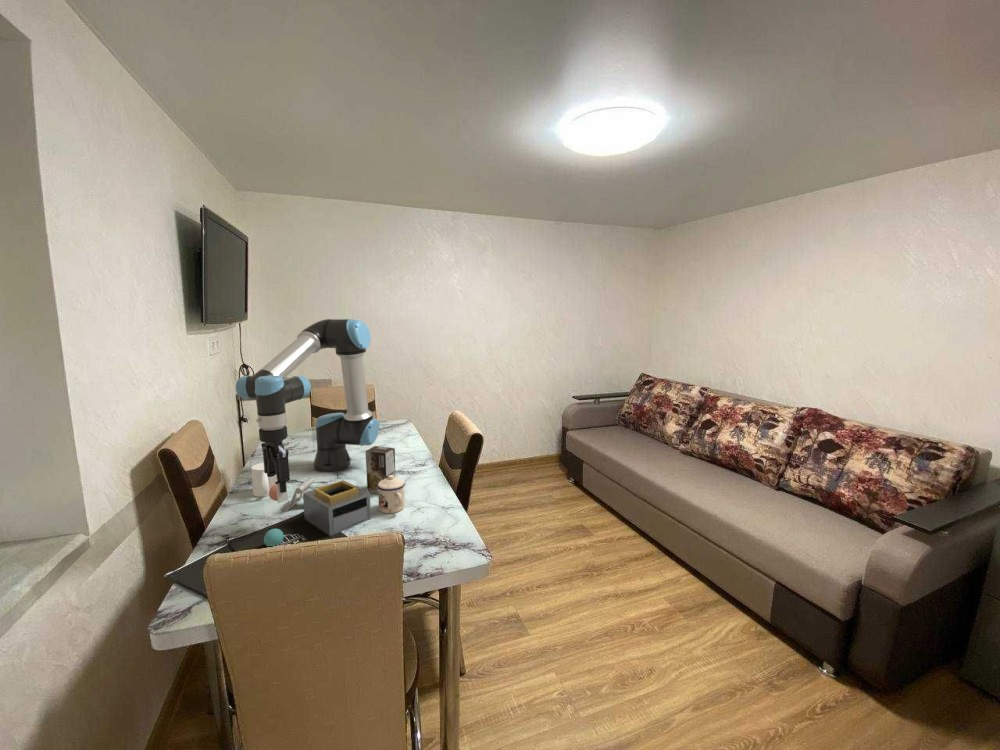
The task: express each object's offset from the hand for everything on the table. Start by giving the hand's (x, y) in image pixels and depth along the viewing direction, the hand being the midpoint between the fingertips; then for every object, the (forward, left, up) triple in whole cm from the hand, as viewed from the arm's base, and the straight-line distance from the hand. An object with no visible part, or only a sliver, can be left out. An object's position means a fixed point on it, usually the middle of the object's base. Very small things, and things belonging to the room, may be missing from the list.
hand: (278, 498), depth 129 cm
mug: (-28, +7, -9) cm, 30 cm away
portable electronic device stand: (-9, +11, -9) cm, 16 cm away
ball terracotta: (0, 0, 0) cm, 0 cm away
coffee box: (+1, +37, -9) cm, 38 cm away
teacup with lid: (+18, +30, -9) cm, 36 cm away
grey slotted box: (+10, +14, -9) cm, 19 cm away
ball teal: (+11, -6, -9) cm, 16 cm away
